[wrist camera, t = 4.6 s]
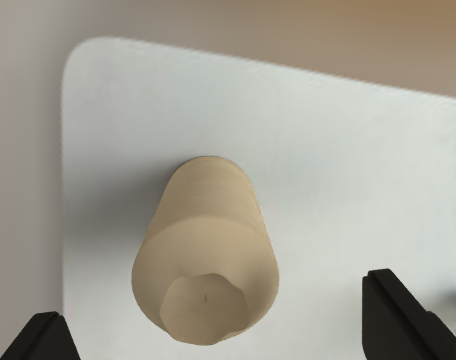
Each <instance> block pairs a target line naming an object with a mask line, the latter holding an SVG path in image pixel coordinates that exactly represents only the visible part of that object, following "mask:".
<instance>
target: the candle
mask: <svg viewBox="0 0 456 360" xmlns="http://www.w3.org/2000/svg"><path fill="white" fill-rule="evenodd" d="M278 287H279V270H278V266H277V262H276V259H275V255H274V252H273V249H272V246H271V243H270V240H269V237H268V233H267V230H266V227H265V224H264V221H263V218H262V215H261V212H260V209H259V205H258V202H257V199H256V196H255V193H254V190H253V187H252V185H251V182H250V180H249V178H248V177H247V175H246V174H245V173H244V172H243V170H241V169H240V168H239V167H238V166H237V165H236V164H234V163H233V162H231V161H229V160H226V159H224V158H220V157H214V156H205V157H199V158H195V159H193V160H190V161H188V162H187V163H185V164H183V165H182V166H181V167H180V168H178V169H177V170H176V171H175V173H174V174H173V175H172V177H171V178H170V180H169V182H168V184H167V186H166V188H165V191H164V193H163V195H162V198H161V200H160V202H159V205H158V207H157V210H156V212H155V214H154V217H153V219H152V221H151V224H150V226H149V228H148V231H147V233H146V235H145V238H144V240H143V242H142V245H141V247H140V249H139V252H138V254H137V256H136V259H135V262H134V265H133V269H132V289H133V293H134V296H135V299H136V301H137V303H138V305H139V307H140V309H141V310H142V312H143V313H144V314H145V315H146V316H147V317H148V319H150V320H151V321H152V322H153V323H154V324H155V325H157V326H158V327H160V328H161V329H163V330H164V331H166V332H167V333H168V334H169V335H170V336H171V337H172V338H174V339H175V340H177V341H180V342H185V343H190V344H195V345H213V344H215V343H218V342H220V341H222V340H226V339H228V338H231V337H233V336H236V335H238V334H240V333H242V332H244V331H246V330H247V329H249V328H250V327H252V326H253V325H255V324H256V323H257V322H258V321H260V320H261V319H262V318H263V317H264V315H265V314H266V313H267V312H268V310H269V309H270V308H271V306H272V304H273V302H274V300H275V298H276V295H277V292H278Z"/></svg>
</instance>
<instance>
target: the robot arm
mask: <svg viewBox="0 0 456 360" xmlns="http://www.w3.org/2000/svg"><path fill="white" fill-rule="evenodd" d="M362 346H363V350H364V354H365V356H366V358H367V360H456V337H455V336H454V334H453V333H452V332H451V331H450V330H449V329H448V328H447V327H446V325H445V324H444V323H443V322H442V321H441V320H440V319H439V318H438V317H437V316H436V315H435V314H434V313H432V312H430V311H426V310H425V309H424V308H423V307H422V306H421V305H420V303H419V302H418V301H417V300H416V299H415V298H414V296H413V295H412V294H411V293H410V292H409V291H408V289H407V288H406V287H405V286H404V285H403V284H402V282H401V281H400V280H399V279H398V278H397V277H396V275H395V274H394V273H393V272H392V271H391V270H390V269H388V268H387V269H379V270H372V271H369V272H368V275H367V276H364V277H363V280H362ZM0 360H81V359H80V357H79V354H78V352H77V349H76V346H75V344H74V341H73V339H72V336H71V334H70V331H69V329H68V326H67V323H66V321H65V318H64V317H63V316H60V315H59V313H57V312H54V311H53V312H45V313H38V314H35V315H34V316H33V317H32V318H31V319H30V320H29V322H28V323H27V324H26V326H25V327H24V328H23V329H22V331H21V332H20V333H19V335H18V336H17V337H16V338H15V340H14V341H13V342H12V344H11V345H10V346H9V347H8V349H7V350H6V351H5V353H4V354H3V355H2V357H1V358H0Z"/></svg>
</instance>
